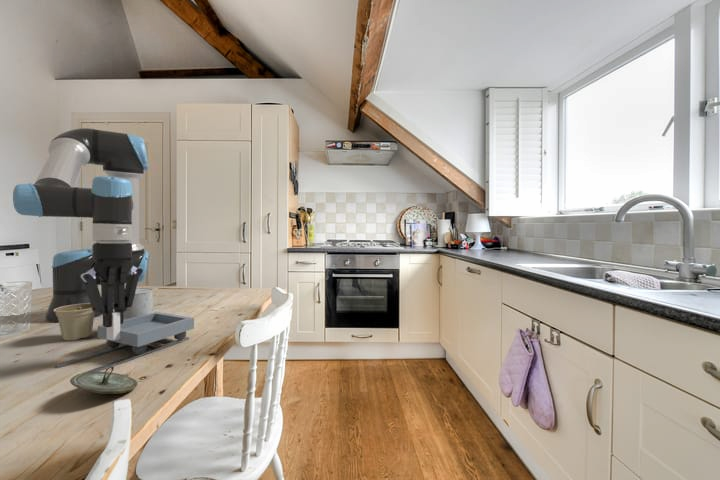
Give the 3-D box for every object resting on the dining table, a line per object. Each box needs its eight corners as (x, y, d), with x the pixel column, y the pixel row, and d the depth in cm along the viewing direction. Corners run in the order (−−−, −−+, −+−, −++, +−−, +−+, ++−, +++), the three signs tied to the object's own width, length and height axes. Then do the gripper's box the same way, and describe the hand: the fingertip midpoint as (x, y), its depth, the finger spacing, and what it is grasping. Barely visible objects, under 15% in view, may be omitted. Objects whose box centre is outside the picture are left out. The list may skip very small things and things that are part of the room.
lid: (67, 392, 60) (67, 366, 60) (130, 375, 67) (130, 352, 67) (73, 414, 53) (73, 385, 53) (143, 393, 60) (143, 367, 60)
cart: (97, 348, 80) (97, 326, 80) (156, 330, 94) (156, 311, 94) (137, 358, 74) (137, 334, 74) (194, 338, 88) (194, 318, 88)
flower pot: (51, 345, 83) (51, 313, 82) (55, 335, 90) (55, 306, 90) (98, 338, 89) (98, 308, 88) (98, 329, 96) (98, 301, 96)
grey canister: (133, 337, 90) (132, 295, 89) (105, 335, 91) (105, 293, 91) (160, 327, 99) (160, 289, 98) (135, 325, 101) (135, 287, 100)
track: (54, 366, 70) (54, 365, 70) (161, 333, 93) (161, 332, 93) (84, 376, 66) (84, 374, 66) (188, 338, 89) (188, 337, 89)
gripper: (90, 243, 68) (91, 350, 69) (150, 241, 80) (150, 333, 81) (70, 242, 71) (71, 345, 72) (131, 241, 83) (131, 329, 84)
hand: (113, 338), depth 76 cm, fingers closed
